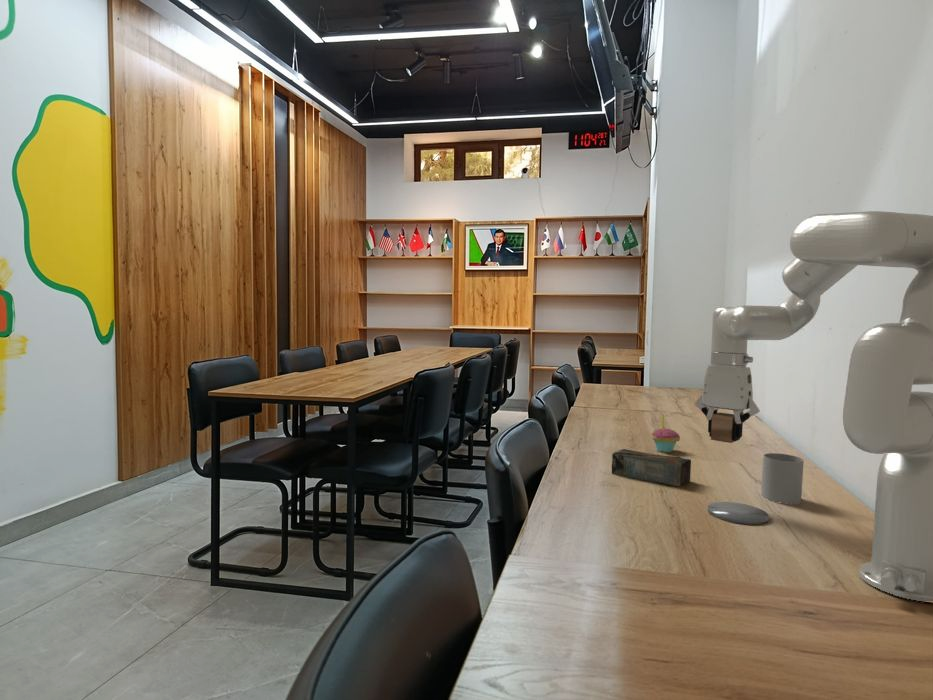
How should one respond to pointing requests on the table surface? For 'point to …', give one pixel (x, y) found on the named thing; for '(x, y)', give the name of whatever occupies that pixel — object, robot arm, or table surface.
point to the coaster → (738, 513)
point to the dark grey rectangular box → (652, 467)
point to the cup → (782, 478)
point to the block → (722, 427)
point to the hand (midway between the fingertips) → (724, 437)
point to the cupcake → (665, 438)
